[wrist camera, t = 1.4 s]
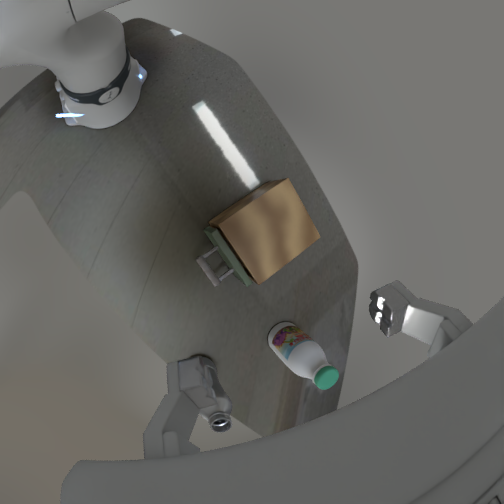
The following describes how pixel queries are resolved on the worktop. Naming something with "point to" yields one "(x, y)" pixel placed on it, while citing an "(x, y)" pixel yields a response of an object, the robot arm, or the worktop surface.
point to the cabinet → (267, 228)
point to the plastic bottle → (221, 411)
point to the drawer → (227, 257)
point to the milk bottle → (302, 354)
